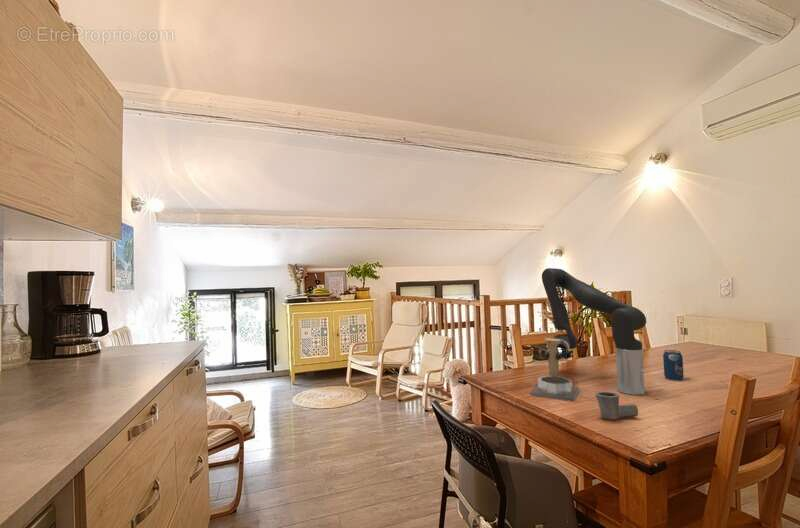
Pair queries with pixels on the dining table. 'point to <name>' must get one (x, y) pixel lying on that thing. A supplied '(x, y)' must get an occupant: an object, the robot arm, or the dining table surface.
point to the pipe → (614, 406)
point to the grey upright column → (553, 356)
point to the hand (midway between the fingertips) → (551, 357)
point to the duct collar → (555, 388)
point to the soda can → (673, 365)
